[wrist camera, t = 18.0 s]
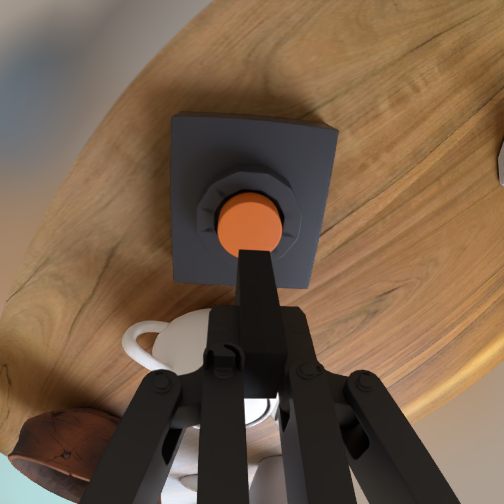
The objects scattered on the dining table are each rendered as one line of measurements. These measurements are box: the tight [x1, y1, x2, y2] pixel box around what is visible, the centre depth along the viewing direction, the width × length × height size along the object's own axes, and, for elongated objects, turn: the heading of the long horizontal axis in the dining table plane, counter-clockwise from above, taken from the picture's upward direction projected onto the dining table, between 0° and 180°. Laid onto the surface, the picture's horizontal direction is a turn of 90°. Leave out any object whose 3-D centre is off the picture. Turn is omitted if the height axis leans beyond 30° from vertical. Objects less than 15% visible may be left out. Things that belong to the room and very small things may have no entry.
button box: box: [170, 112, 339, 289], centre depth 23 cm, size 13×11×5 cm
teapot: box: [122, 308, 279, 429], centre depth 29 cm, size 22×14×11 cm, turn 46°
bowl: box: [8, 408, 161, 504], centre depth 37 cm, size 25×25×15 cm
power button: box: [217, 192, 282, 257], centre depth 20 cm, size 4×4×2 cm
